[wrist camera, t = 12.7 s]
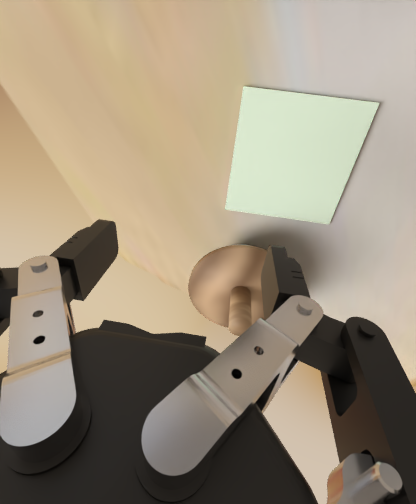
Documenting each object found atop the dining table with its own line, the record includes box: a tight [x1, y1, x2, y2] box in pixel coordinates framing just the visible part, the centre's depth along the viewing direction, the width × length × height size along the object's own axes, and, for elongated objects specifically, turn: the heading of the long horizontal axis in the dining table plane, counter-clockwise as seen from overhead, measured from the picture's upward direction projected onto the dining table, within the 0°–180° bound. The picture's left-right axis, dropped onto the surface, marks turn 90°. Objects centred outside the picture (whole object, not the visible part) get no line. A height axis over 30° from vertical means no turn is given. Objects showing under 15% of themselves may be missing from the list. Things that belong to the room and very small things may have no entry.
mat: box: [225, 86, 379, 224], centre depth 36 cm, size 17×17×1 cm
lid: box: [188, 245, 267, 336], centre depth 38 cm, size 17×17×8 cm
